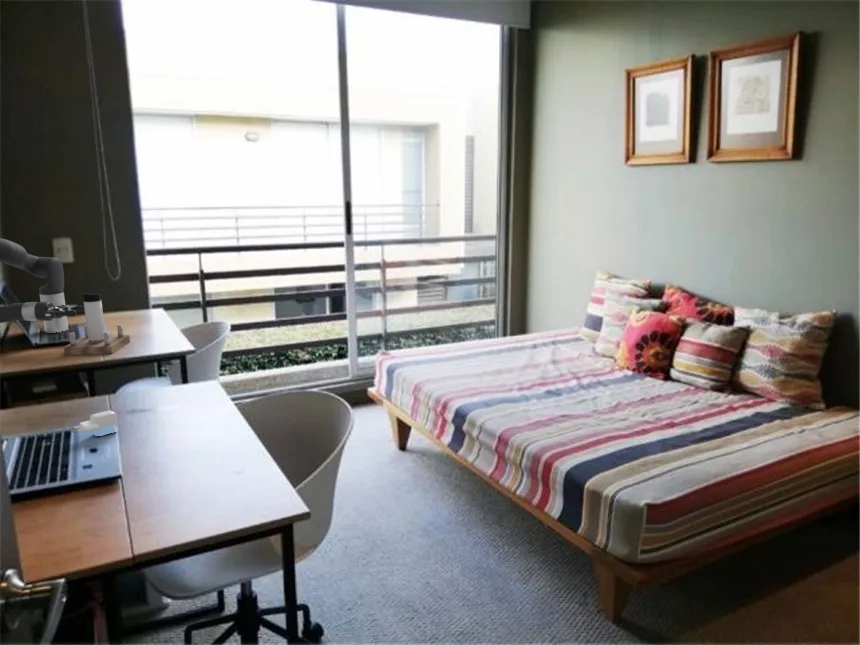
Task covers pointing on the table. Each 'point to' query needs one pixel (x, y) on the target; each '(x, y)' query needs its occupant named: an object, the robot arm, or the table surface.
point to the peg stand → (107, 346)
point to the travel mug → (94, 317)
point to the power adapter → (97, 422)
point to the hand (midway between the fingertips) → (80, 310)
